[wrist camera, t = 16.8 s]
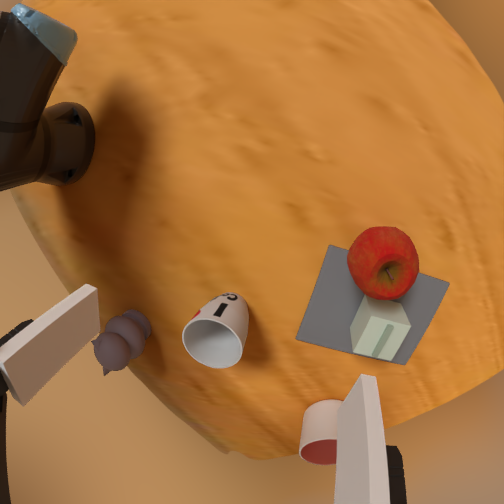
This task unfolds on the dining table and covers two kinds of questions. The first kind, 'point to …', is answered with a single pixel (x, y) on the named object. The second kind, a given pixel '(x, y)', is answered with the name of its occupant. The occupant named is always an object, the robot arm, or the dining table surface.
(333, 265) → the grey piece
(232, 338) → the cup
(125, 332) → the cat figurine
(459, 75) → the dining table surface
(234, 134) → the dining table surface
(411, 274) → the apple
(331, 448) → the cup
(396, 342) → the pale green block
